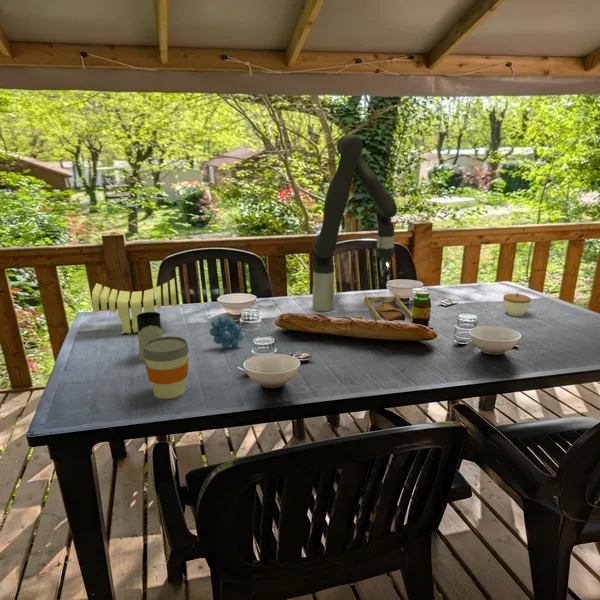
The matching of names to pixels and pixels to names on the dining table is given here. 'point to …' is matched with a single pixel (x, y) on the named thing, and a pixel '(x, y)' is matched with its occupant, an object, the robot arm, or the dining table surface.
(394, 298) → the yellowish flat rectangular frame
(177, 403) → the dining table surface
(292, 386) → the dining table surface
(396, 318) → the sunglasses case
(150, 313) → the glass holder
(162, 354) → the reusable coffee cup
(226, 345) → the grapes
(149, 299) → the slatted curved stool
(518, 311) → the lidded jar
